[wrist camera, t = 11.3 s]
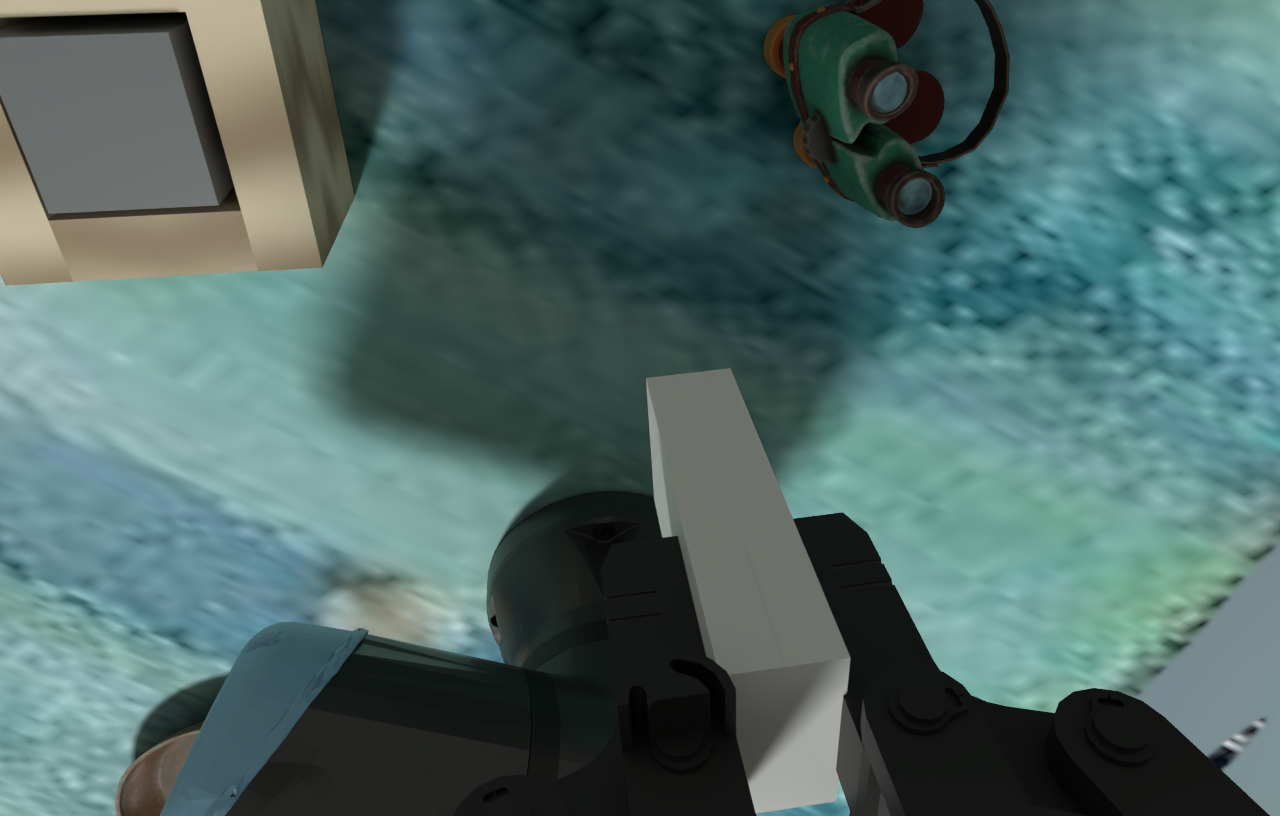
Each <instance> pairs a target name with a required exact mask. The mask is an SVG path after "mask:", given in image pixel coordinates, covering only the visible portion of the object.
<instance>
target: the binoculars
mask: <svg viewBox="0 0 1280 816" xmlns="http://www.w3.org/2000/svg"><path fill="white" fill-rule="evenodd" d="M975 2H976V3H977V4H978V6H979V8H980V10H981V12H982V15H983V17H984V19H985V22H986V24H987V26H988V29H989V33H990V36H991V40H992V44H993V48H994V52H995V73H994V88H993V91H992V93H991V96H990V98H989V100H988V103H987V105H986V108H985V110H984V112H983V115H982V117H981V120H980V122H979V124H978V125H977V126H976V127H975V128H974V130H973V131H972V132H971V133H970V134H969V136H968V137H967V138H966V139H965V140H964V142H962V143H960V144H958V145H956V146H954V147H952V148H950V149H948V150H946V151H944V152H940V153H936V154H931V155H926V156H922V157H921V156H918V155H917V153H916V151H915V150H914V148H913V147H912V146H911V145H910V144H911V143H916V142H918V141H921V140H923V139H924V138H926V137H927V136H929V135H930V134H931V133H932V132H933V131H934V129H935V128H936V127H937V125H938V124H939V121H940V119H941V117H942V114H943V110H944V94H943V90H942V87H941V85H940V84H939V82H938V81H937V79H936V78H934V77H933V76H932V75H931V74H928V73H926V72H922V71H915V69H913V68H912V67H911V66H909V65H906V64H903V63H900V62H898V56H897V49H898V48H900V47H901V46H903V45H904V44H905V43H906V42H907V41H908V40H909V39H910V38H911V36H912V35H913V34H914V32H915V31H916V29H917V27H918V25H919V22H920V20H921V17H922V12H923V0H846V2H845V4H844V5H830V4H823V5H819V6H816V7H813V8H811V9H809V10H806V11H804V12H802V13H800V14H798V15H790V16H786V17H784V18H782V19H780V20H779V21H777V22H776V23H775V24H774V25H773V26H772V27H771V28H770V30H769V31H768V33H767V35H766V38H765V41H764V48H763V50H764V57H765V60H766V62H767V64H768V66H769V67H770V68H771V69H772V70H773V71H774V72H775V73H777V74H778V75H780V76H782V77H783V78H785V79H786V80H787V84H788V88H789V92H790V96H791V99H792V102H793V105H794V108H795V110H796V113H797V115H798V116H799V117H800V118H801V120H800V123H799V124H798V126H797V127H796V129H795V132H794V136H793V145H794V149H795V151H796V153H797V155H798V156H799V157H800V158H801V159H802V160H803V161H804V162H806V163H807V164H808V165H809V166H811V167H813V168H815V169H818V170H819V172H820V173H821V175H822V176H823V178H824V181H825V182H827V183H828V184H829V185H830V187H831V188H833V189H834V190H835V191H836V192H837V193H838V194H840V195H841V196H842V197H844V198H845V199H848V200H851V201H854V202H856V203H858V204H859V205H861V206H863V207H864V208H866V209H867V210H869V211H871V212H872V213H874V214H875V215H877V216H879V217H881V218H883V219H886V220H890V221H895V220H898V221H899V222H900V223H902V224H903V225H905V226H908V227H911V228H920V227H924V226H926V225H928V224H930V223H932V222H933V221H934V220H935V219H936V218H937V217H938V216H939V214H940V213H941V211H942V209H943V206H944V201H945V192H944V188H943V186H942V183H941V182H940V180H939V179H938V178H937V177H936V176H934V175H933V174H931V173H929V172H927V171H925V170H924V169H923V168H926V167H937V166H938V163H942V162H947V161H951V160H955V159H957V158H959V157H961V156H963V155H965V154H967V153H969V152H971V151H973V150H975V149H976V148H977V147H978V145H979V144H980V143H981V142H982V141H983V140H984V138H985V137H986V136H987V135H988V134H989V132H990V131H991V130H992V129H993V126H994V124H995V122H996V119H997V117H998V115H999V112H1000V110H1001V108H1002V105H1003V103H1004V101H1005V98H1006V96H1007V94H1008V88H1009V62H1010V56H1009V52H1008V48H1007V44H1006V40H1005V36H1004V32H1003V29H1002V27H1001V24H1000V22H999V20H998V17H997V15H996V12H995V10H994V8H993V6H992V5H991V3H990V2H989V1H988V0H975Z"/></svg>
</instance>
